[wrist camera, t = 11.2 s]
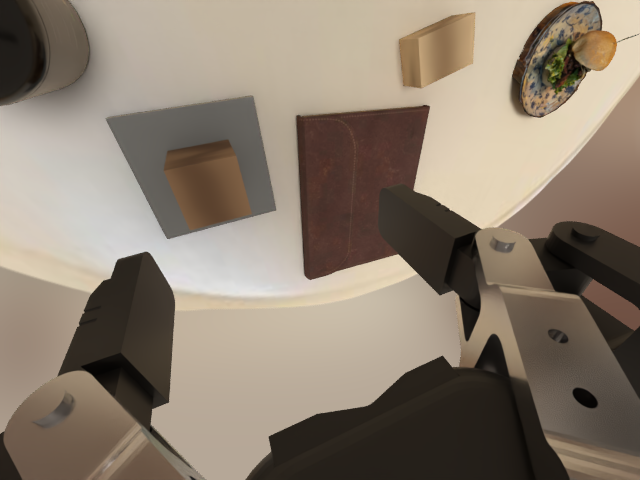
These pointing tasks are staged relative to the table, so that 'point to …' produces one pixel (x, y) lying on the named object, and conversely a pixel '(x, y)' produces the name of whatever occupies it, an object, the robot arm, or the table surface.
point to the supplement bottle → (39, 48)
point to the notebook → (353, 181)
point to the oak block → (437, 50)
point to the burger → (562, 56)
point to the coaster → (185, 131)
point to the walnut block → (207, 183)
